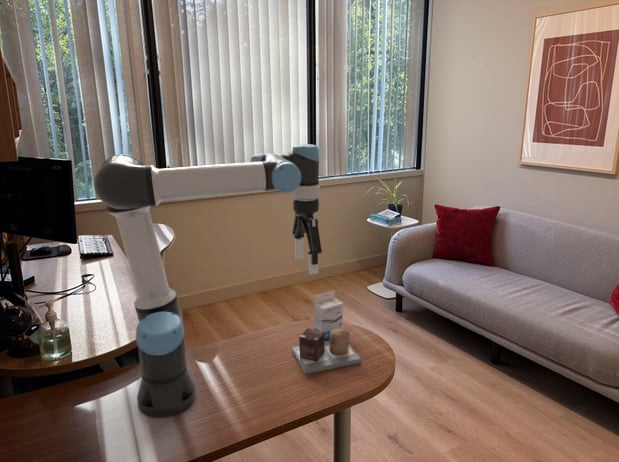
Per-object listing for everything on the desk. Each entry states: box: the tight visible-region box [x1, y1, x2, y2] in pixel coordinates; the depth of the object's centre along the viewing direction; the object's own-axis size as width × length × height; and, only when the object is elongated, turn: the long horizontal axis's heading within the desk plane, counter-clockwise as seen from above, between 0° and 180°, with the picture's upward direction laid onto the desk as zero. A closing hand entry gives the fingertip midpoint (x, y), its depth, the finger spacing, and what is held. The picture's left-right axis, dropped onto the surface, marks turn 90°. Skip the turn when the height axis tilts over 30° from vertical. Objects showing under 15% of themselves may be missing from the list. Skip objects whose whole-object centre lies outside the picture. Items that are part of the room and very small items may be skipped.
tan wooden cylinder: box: [329, 328, 350, 356], centre depth 145 cm, size 6×6×6 cm
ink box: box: [314, 289, 344, 340], centre depth 156 cm, size 8×5×15 cm, turn 123°
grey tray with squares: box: [291, 339, 362, 375], centre depth 145 cm, size 18×13×2 cm
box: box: [298, 328, 325, 362], centre depth 142 cm, size 6×6×7 cm
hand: (306, 265), depth 142 cm, fingers open, 13 cm apart
